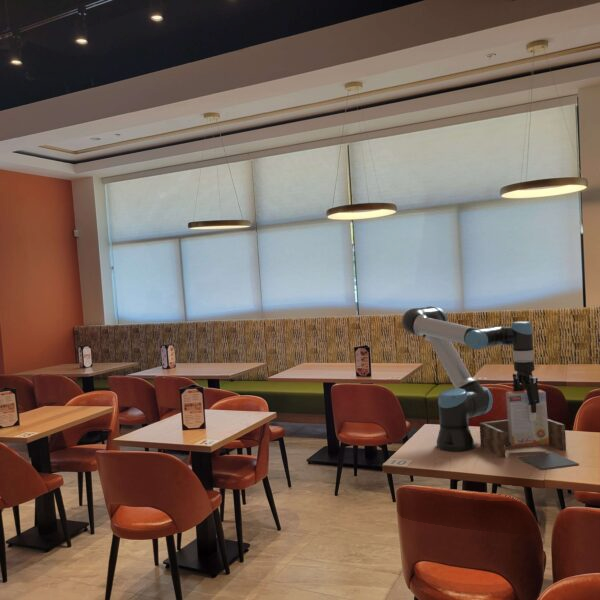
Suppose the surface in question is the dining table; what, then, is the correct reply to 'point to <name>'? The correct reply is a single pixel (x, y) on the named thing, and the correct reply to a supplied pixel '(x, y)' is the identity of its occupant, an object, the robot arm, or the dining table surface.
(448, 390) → the robot arm
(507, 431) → the cubby shelf
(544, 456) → the mat
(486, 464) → the dining table surface
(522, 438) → the cracker box
